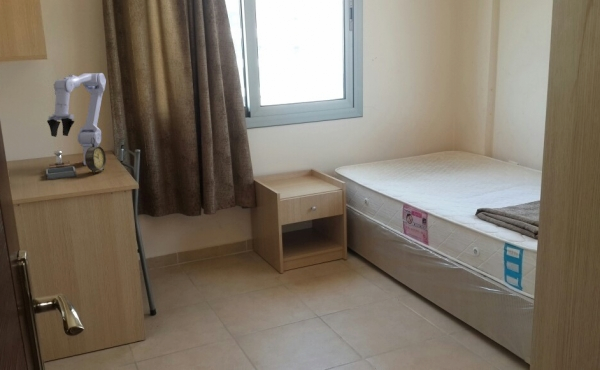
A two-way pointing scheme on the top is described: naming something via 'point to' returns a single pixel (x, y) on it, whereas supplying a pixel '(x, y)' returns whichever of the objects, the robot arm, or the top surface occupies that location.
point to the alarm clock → (95, 158)
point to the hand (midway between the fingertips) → (59, 136)
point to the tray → (60, 173)
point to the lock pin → (58, 157)
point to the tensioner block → (54, 165)
